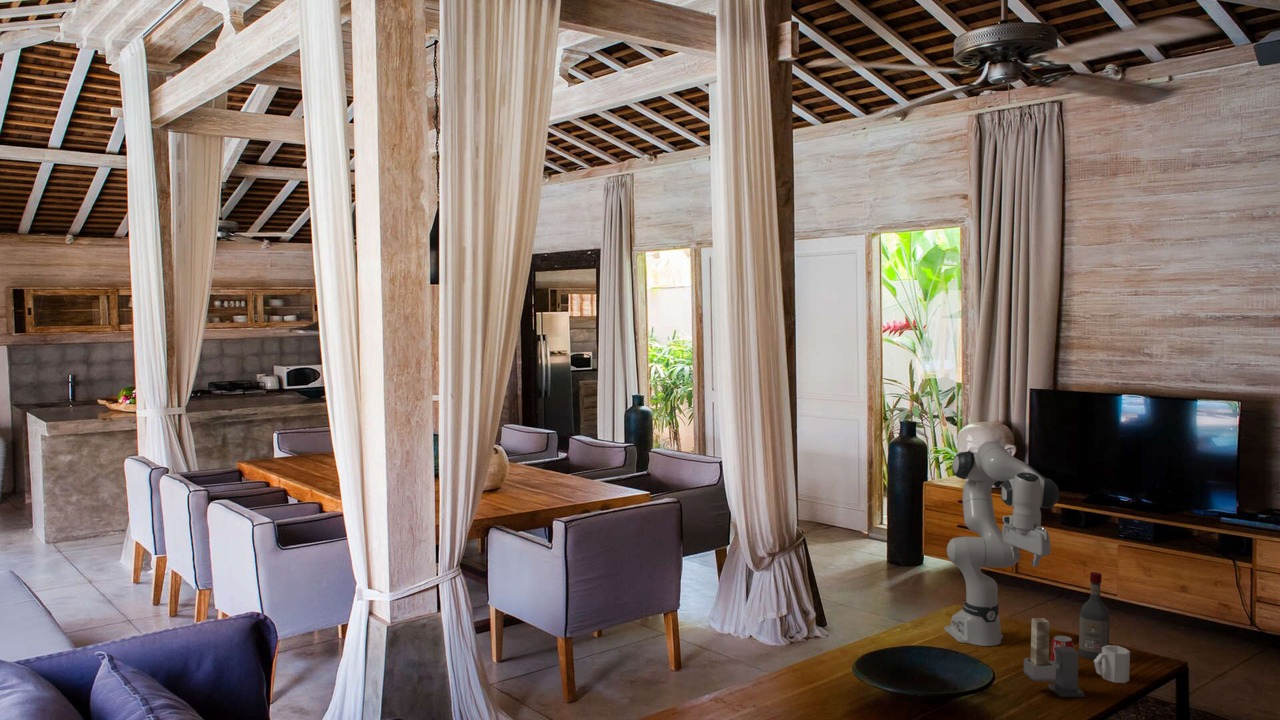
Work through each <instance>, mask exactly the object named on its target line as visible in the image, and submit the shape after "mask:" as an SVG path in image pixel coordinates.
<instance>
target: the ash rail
mask: <svg viewBox="0 0 1280 720" xmlns="http://www.w3.org/2000/svg"><path fill="white" fill-rule="evenodd" d="M1030 632H1031V633H1030V637H1031V638H1030V658H1031V663H1032V664H1033V665H1035V666H1047V665H1048V661H1050V660H1049V658H1050V657H1049V655H1050V621H1048V620H1047V619H1046V618H1044V617H1035V618H1034V617H1032V618H1031V631H1030Z"/></svg>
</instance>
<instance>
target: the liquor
mask: <svg viewBox="0 0 1280 720" xmlns="http://www.w3.org/2000/svg"><path fill="white" fill-rule="evenodd" d="M1089 576H1090V577H1089V582H1090V595H1089V599H1088V600H1087V601H1086V602H1085V603H1084V604H1082V606H1081V608H1080V611H1079V629H1078V630H1079V633H1078V634H1079V636H1078V638H1079V639H1078V652H1079V656H1080V657H1082V658H1084V659H1087V660H1088V659H1089V660H1091V661H1092V660H1093V661H1094V660H1095V658H1096V657H1097V656H1098V655H1099V654H1100V653H1102V647H1104V646H1107V645H1110V619H1111V618H1110V615H1111V614H1110V613H1111V612H1110V610H1109V608H1108V607H1107V605H1106V604H1105V602H1103V600H1102V598H1101V583H1102V576H1103V575H1102V573H1100V572H1097V571H1096V572H1095V571H1093V572H1090V574H1089Z"/></svg>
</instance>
